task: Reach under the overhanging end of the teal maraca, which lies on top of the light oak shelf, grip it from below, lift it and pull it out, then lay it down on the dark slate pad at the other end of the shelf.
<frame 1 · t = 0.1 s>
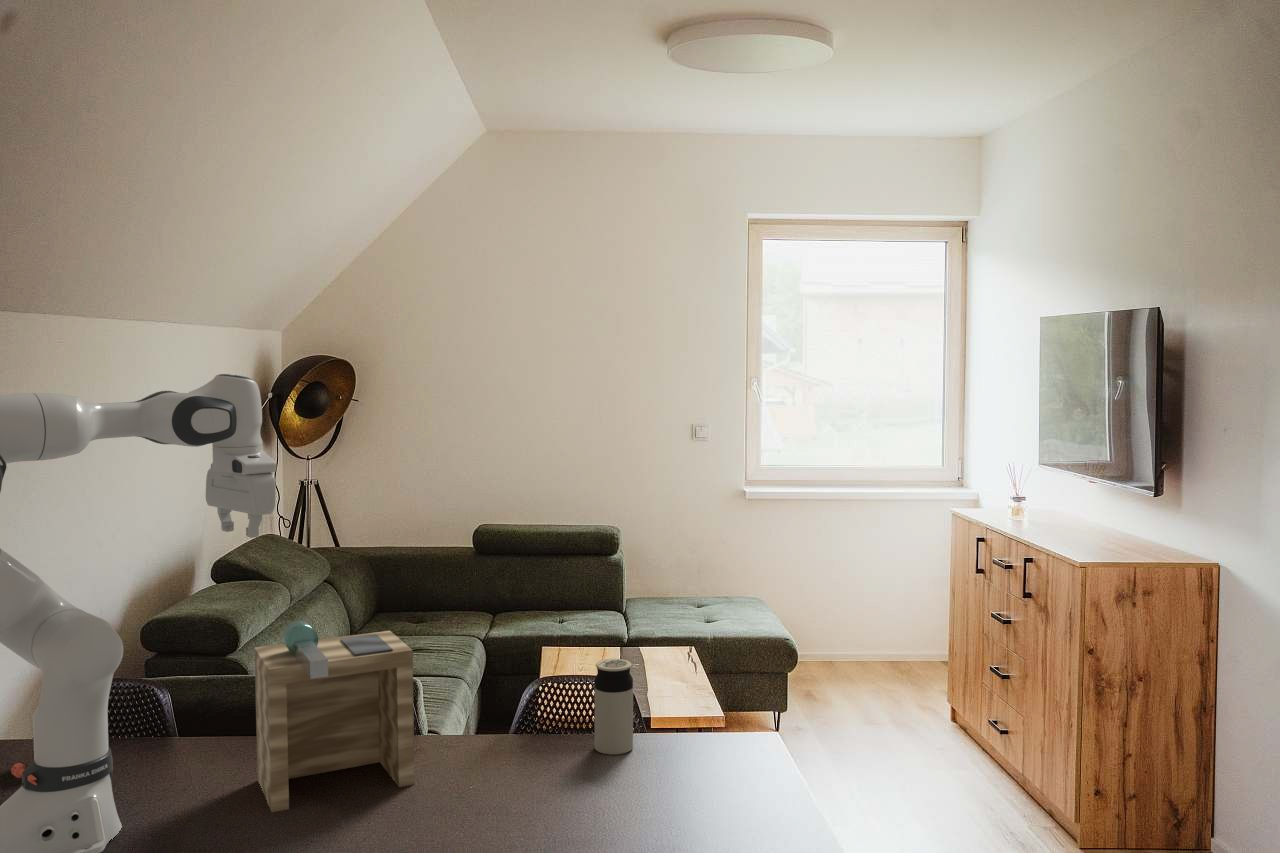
hand: (239, 534, 197), 48 cm above the table, tool pointing down, fingers open, 8 cm apart
teal maraca: (307, 662, 189), point 26 cm above the table, touching oak shelf
oak shelf: (335, 782, 200), on the table
drinking glass: (79, 760, 211), on the table
travel mug: (613, 749, 217), on the table
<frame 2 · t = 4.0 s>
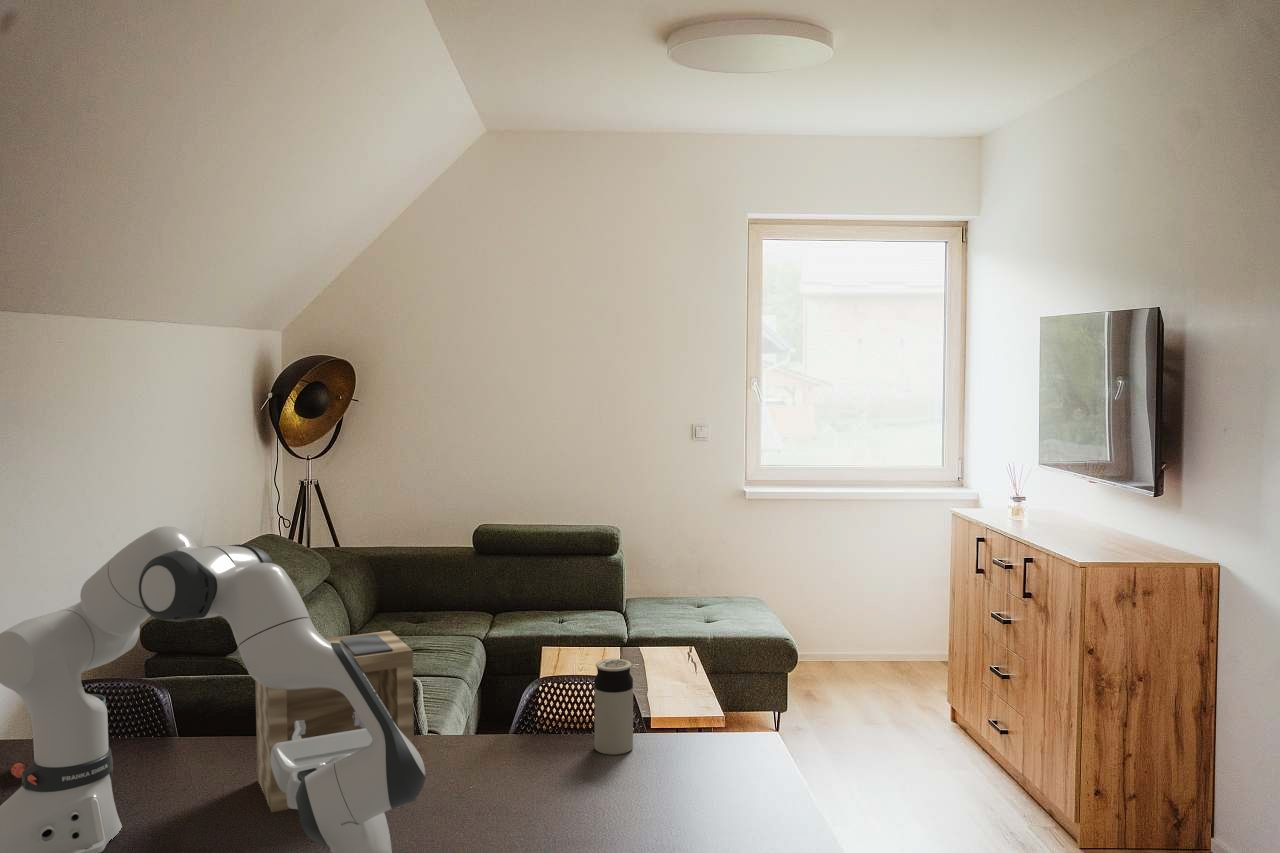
hand: (328, 718, 174), 21 cm above the table, tool pointing upward, fingers open, 8 cm apart
nothing on the table moved.
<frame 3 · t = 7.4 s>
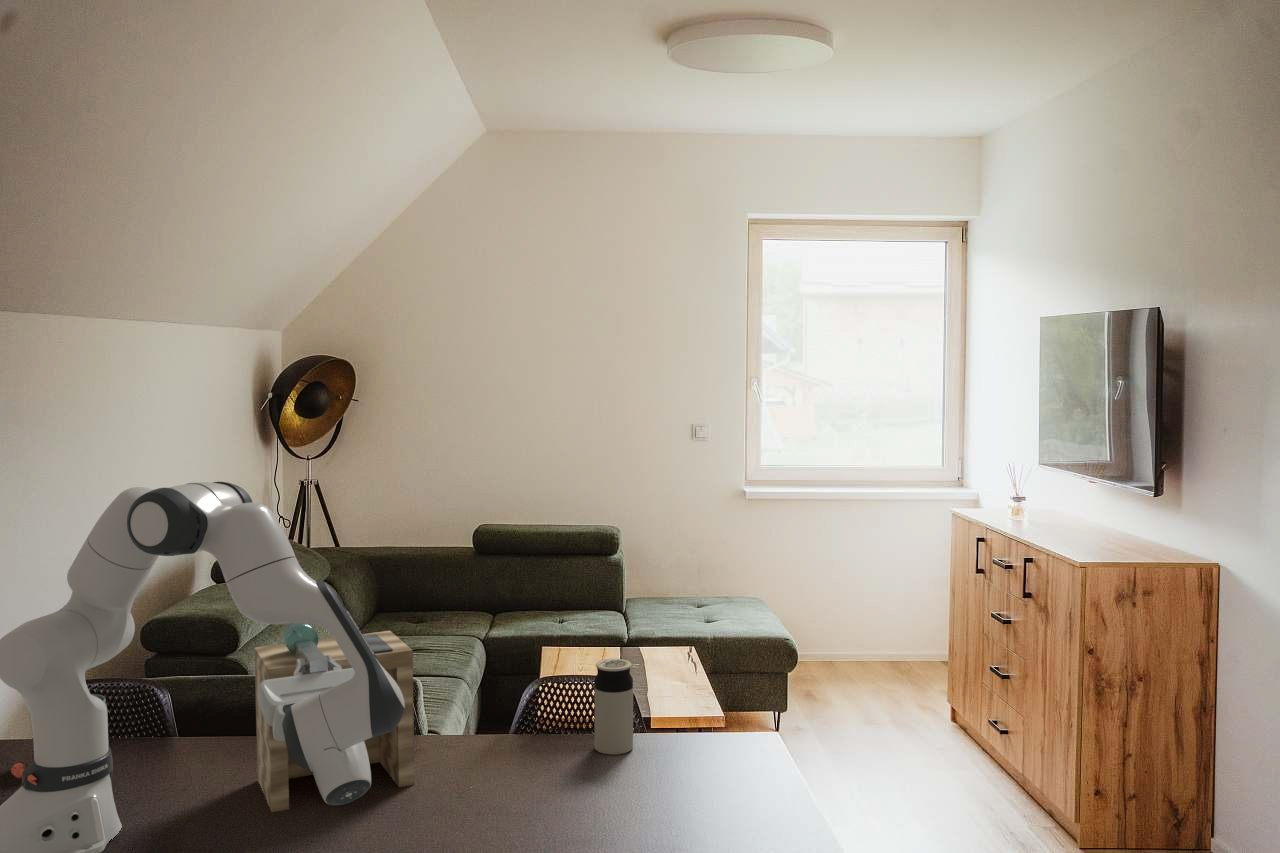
hand: (313, 659, 184), 28 cm above the table, tool pointing upward, fingers closed on teal maraca, 3 cm apart
teal maraca: (307, 662, 189), point 26 cm above the table, touching gripper, oak shelf
everything else where it was.
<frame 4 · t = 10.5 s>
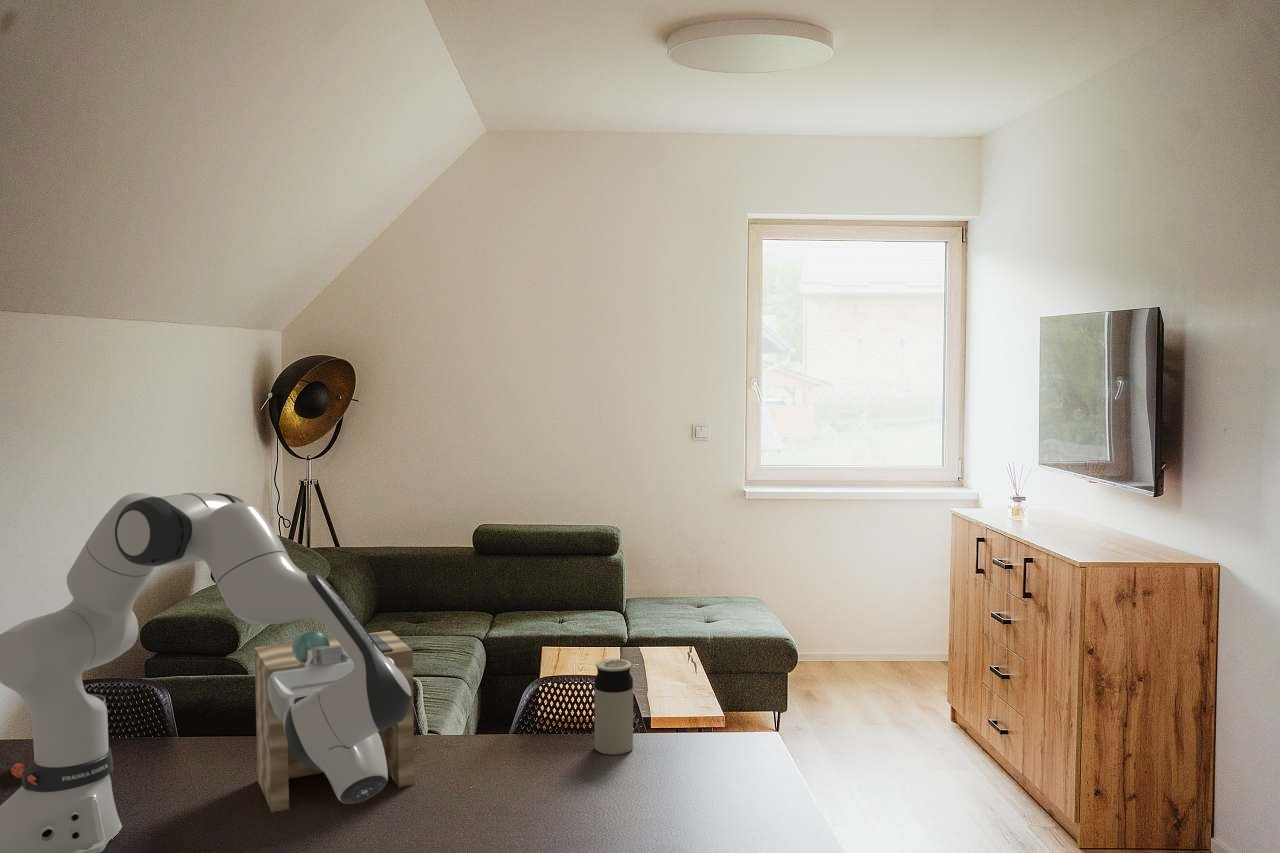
hand: (325, 650, 175), 32 cm above the table, tool pointing upward, fingers closed on teal maraca, 3 cm apart
teal maraca: (319, 664, 180), point 28 cm above the table, tilted 13°, touching gripper
everything else where it was.
when the fingers open (30 cm above the table, at t = 13.6 s): teal maraca stays where it is, resting on oak shelf.
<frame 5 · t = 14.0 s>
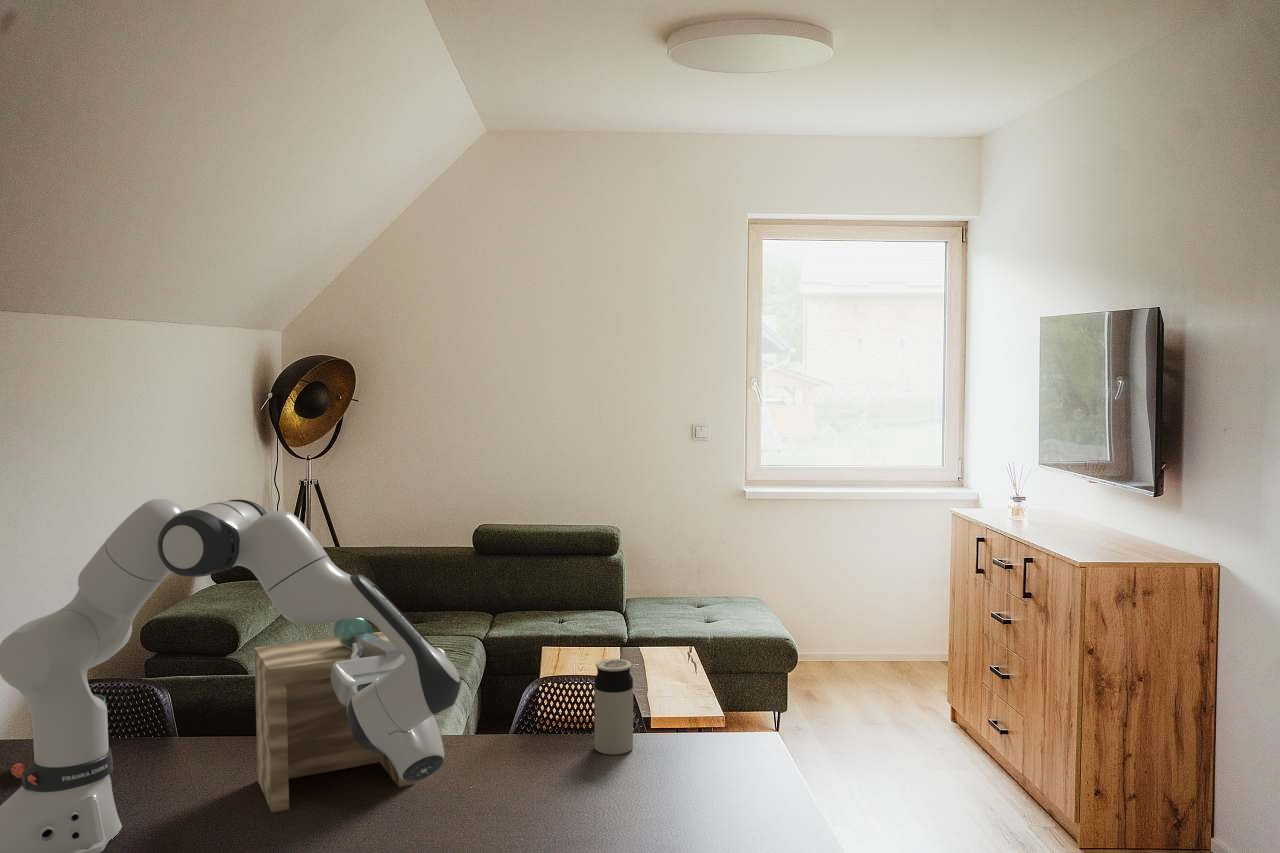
hand: (381, 642, 190), 29 cm above the table, tool pointing upward, fingers open, 8 cm apart
teal maraca: (369, 654, 193), point 26 cm above the table, touching oak shelf
everything else where it was.
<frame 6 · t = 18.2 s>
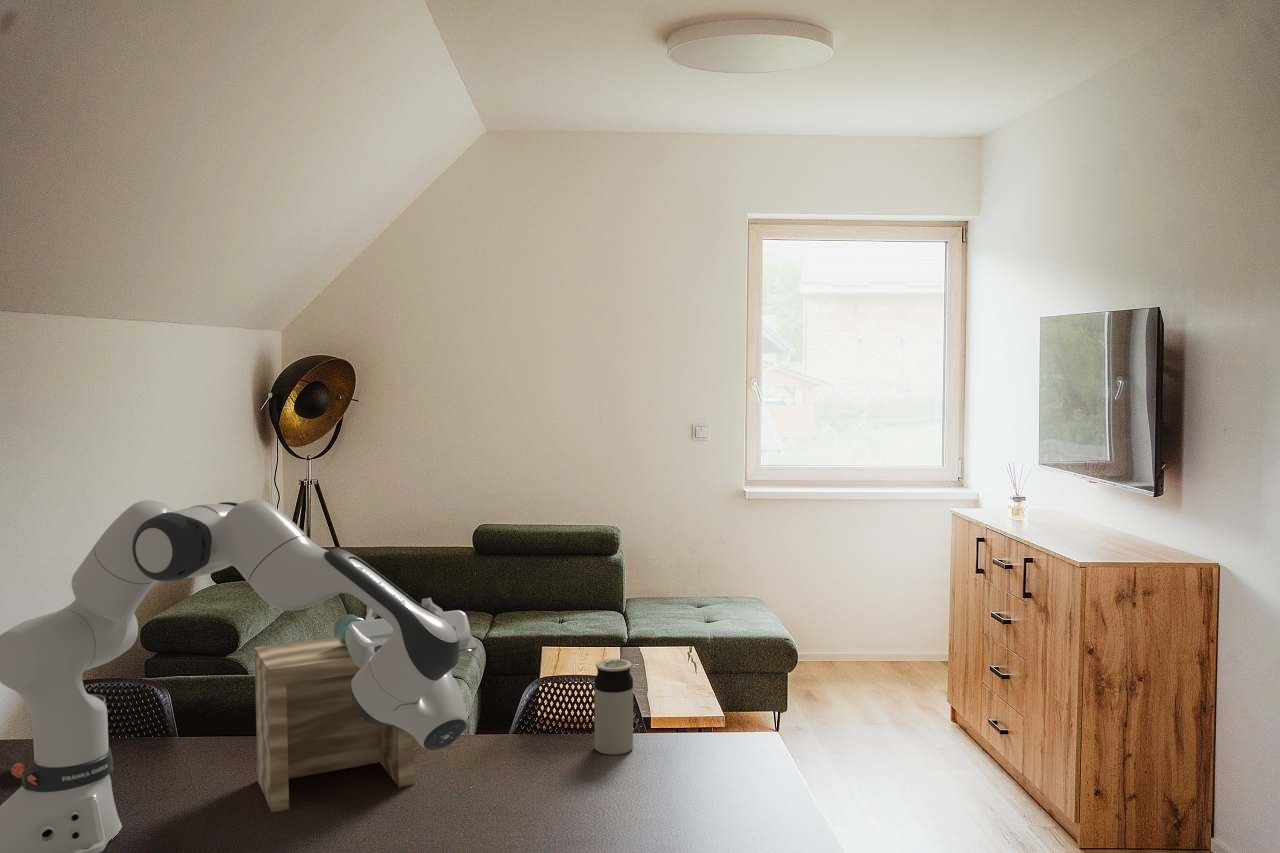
hand: (398, 603, 179), 39 cm above the table, tool pointing upward, fingers open, 8 cm apart
nothing on the table moved.
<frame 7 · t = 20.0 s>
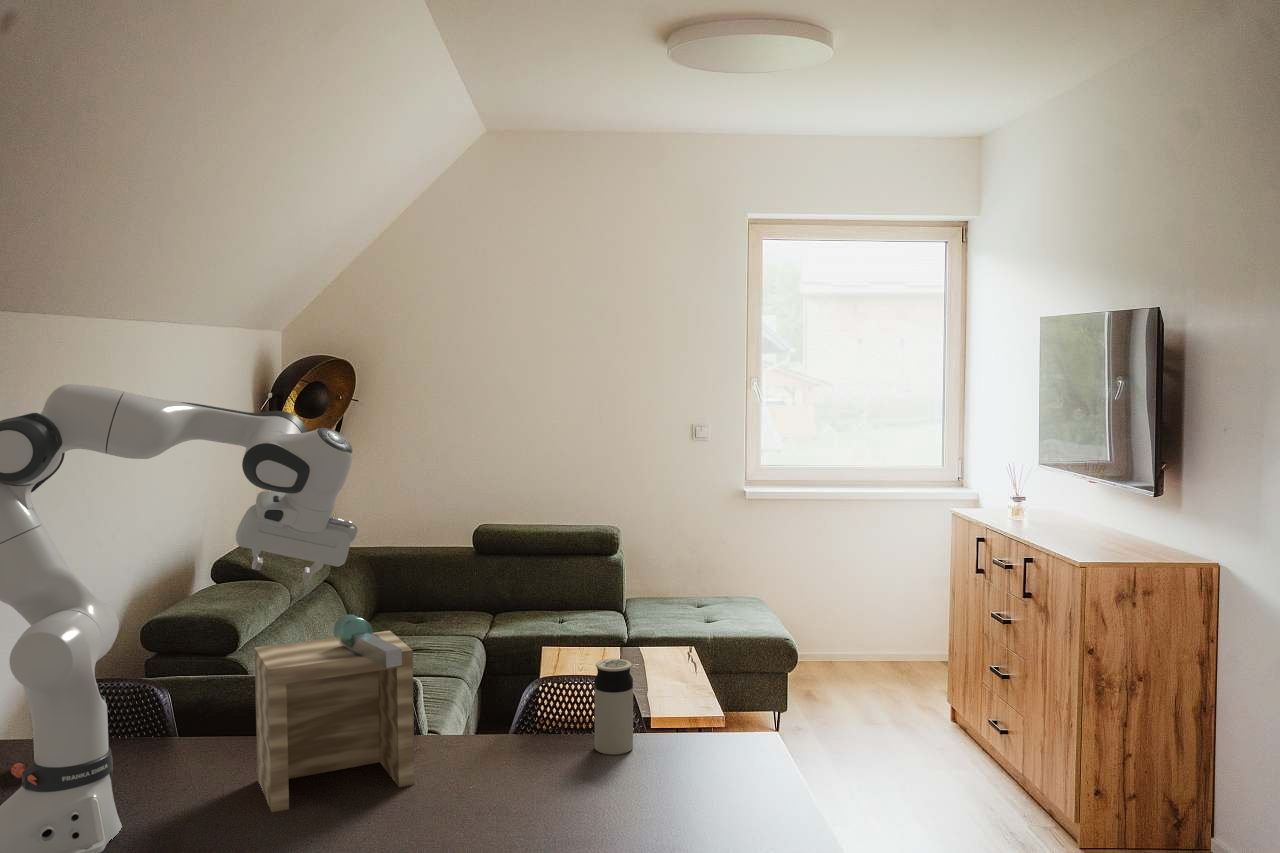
hand: (281, 572, 196), 41 cm above the table, tool tilted 30°, fingers open, 8 cm apart
nothing on the table moved.
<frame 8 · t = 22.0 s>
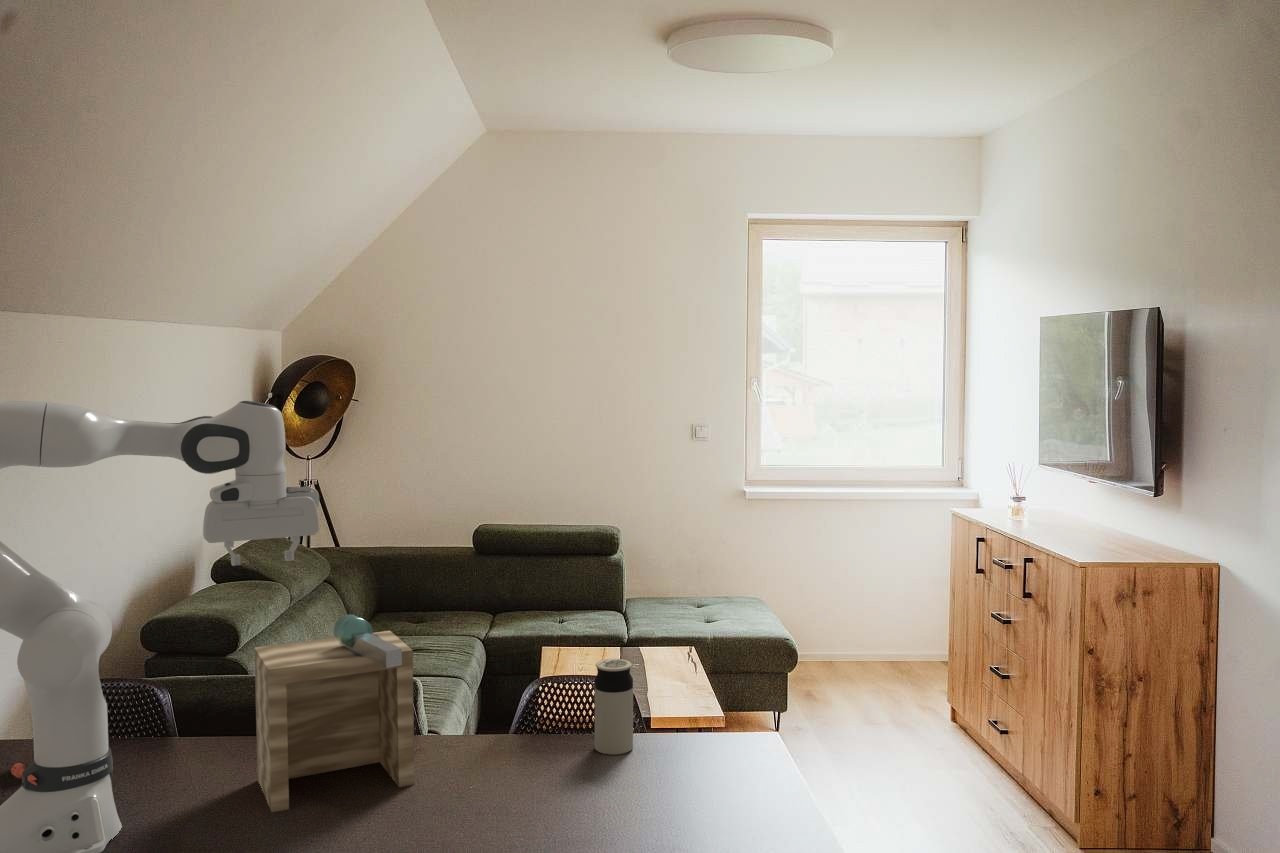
hand: (263, 562, 194), 43 cm above the table, tool pointing down, fingers open, 8 cm apart
nothing on the table moved.
at the end: teal maraca 1.7 cm from the target spot on the oak shelf, point 26.4 cm above the oak shelf's base; teal maraca tilted 0°; the gripper is holding nothing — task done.
